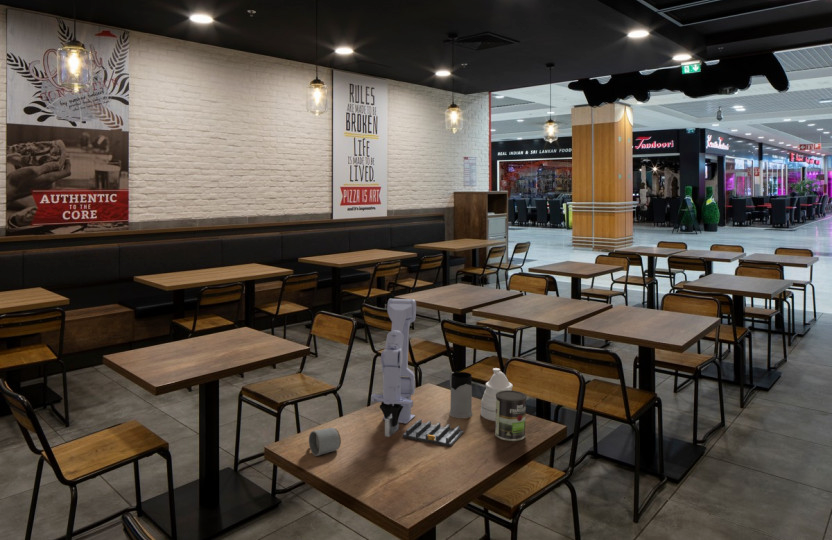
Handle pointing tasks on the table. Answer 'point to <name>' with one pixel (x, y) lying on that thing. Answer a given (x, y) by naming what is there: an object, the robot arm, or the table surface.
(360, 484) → the table surface
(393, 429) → the panel
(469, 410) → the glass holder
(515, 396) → the coffee can
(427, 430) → the rack
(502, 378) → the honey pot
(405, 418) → the robot arm
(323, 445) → the ceramic mug
